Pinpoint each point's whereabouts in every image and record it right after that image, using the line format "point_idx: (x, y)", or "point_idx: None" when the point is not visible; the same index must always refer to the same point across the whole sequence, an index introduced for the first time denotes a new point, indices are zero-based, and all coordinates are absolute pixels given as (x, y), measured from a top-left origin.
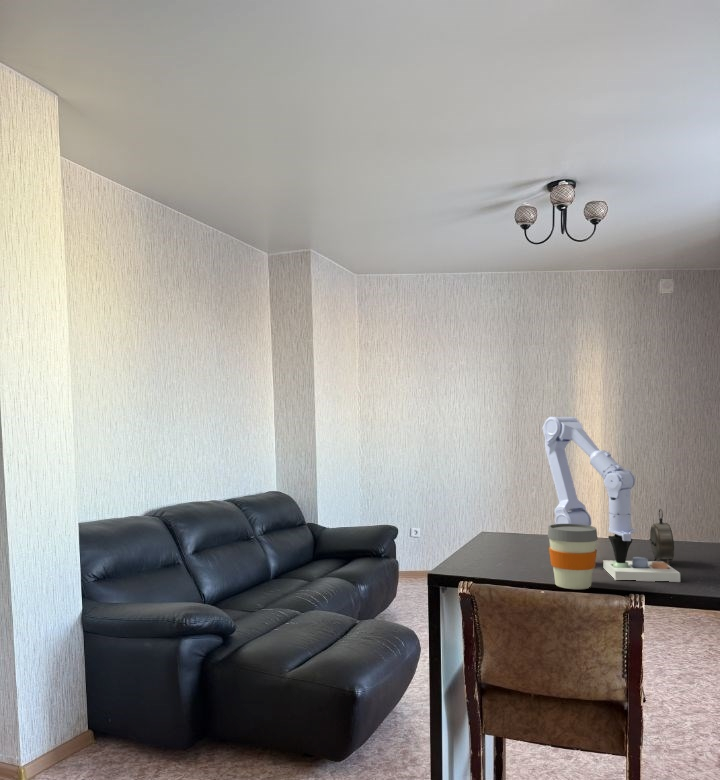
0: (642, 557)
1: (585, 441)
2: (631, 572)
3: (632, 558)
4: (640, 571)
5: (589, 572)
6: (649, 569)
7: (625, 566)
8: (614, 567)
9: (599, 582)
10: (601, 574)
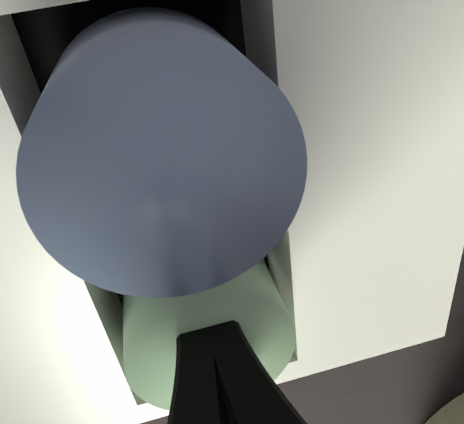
0: (49, 141)
1: None
2: (462, 223)
3: (199, 290)
4: (457, 142)
5: None
6: (344, 11)
7: (274, 290)
8: None
9: (446, 351)
10: None
